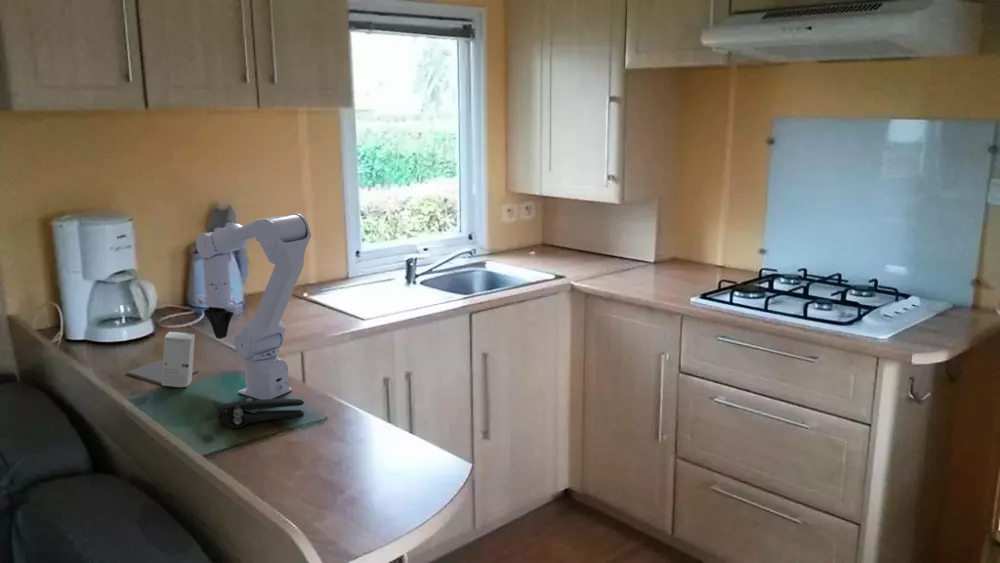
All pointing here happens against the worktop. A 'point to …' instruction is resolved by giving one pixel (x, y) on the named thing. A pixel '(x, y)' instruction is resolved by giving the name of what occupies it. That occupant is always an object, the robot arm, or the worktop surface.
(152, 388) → the worktop surface
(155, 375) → the mat
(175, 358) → the skincare box
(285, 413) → the can opener
